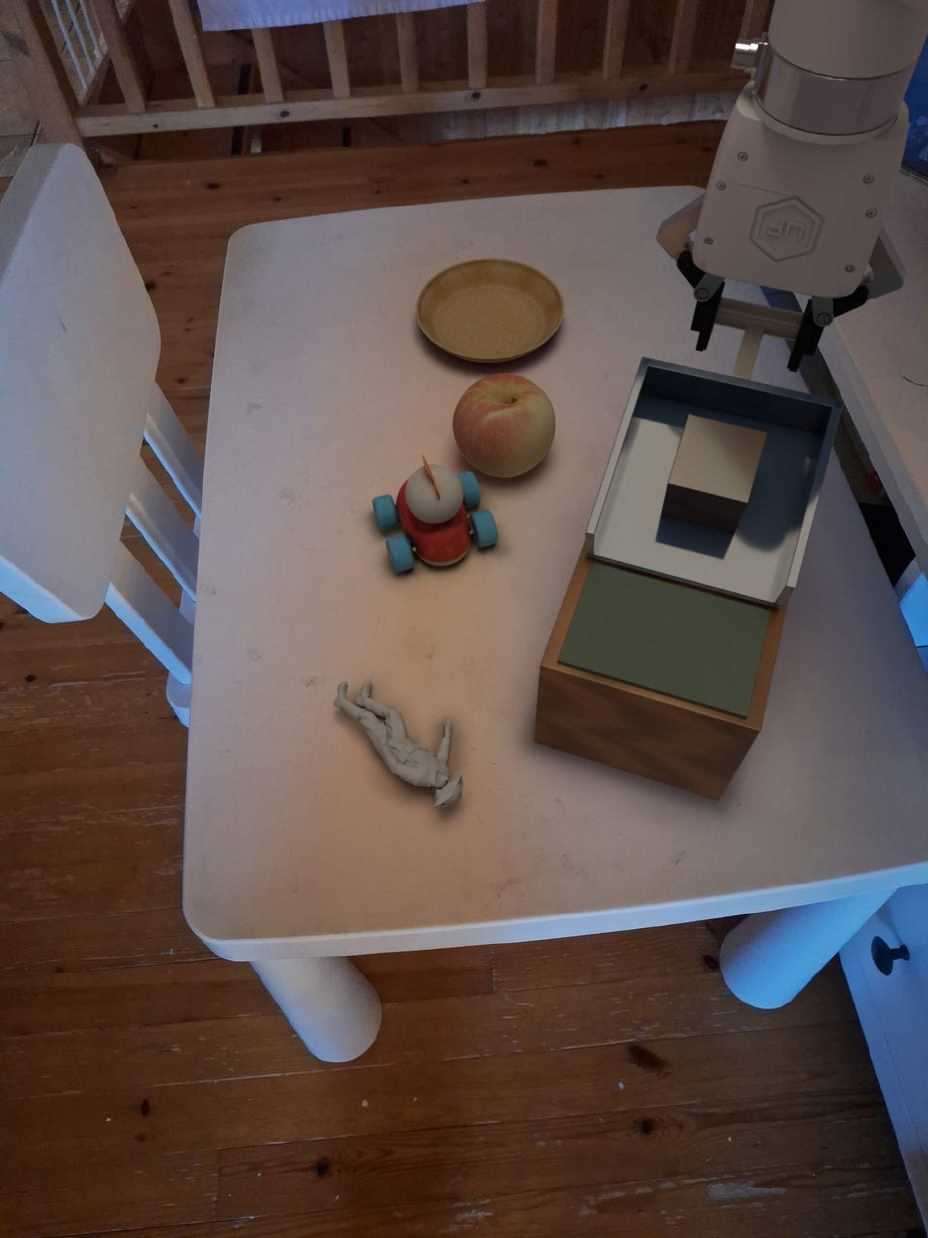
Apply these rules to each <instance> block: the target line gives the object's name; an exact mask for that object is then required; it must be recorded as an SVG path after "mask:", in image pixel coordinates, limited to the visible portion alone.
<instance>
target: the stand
mask: <svg viewBox="0 0 928 1238" xmlns="http://www.w3.org/2000/svg"><path fill="white" fill-rule="evenodd" d="M592 563H596V564H600V565H603V566H607V567H611V568H614V569H618V570H622V571H625V572H629V573H633V574H636V575H640V576H644V577H647V578H651V579H655V580H658V581H662V582H666V583H669V584H673V585H677V586H680V587H684V588H688V589H691V590H695V591H699V592H702V593H706V594H710V595H713V596H717V597H721V598H724V599H728V600H732V601H735V602H739V603H743V604H746V605H750V606H754V607H757V608H761V609H765V610H768V611H770V617H769V621H768V626H767V630H766V635H765V639H764V644H763V648H762V653H761V657H760V662H759V666H758V671H757V675H756V680H755V684H754V689H753V693H752V698H751V702H750V707H749V711H748V716H747V718H746V719H744V718H740V717H737V716H733V715H730V714H727V713H723V712H720V711H717V710H713V709H710V708H707V707H703V706H700V705H697V704H693V703H690V702H687V701H683V700H680V699H676V698H673V697H670V696H666V695H663V694H660V693H656V692H653V691H650V690H646V689H643V688H640V687H636V686H633V685H630V684H626V683H623V682H619V681H616V680H613V679H609V678H606V677H603V676H599V675H596V674H593V673H589V672H586V671H583V670H579V669H576V668H573V667H569V666H566V665H562V664H559V663H557V661H558V657H559V654H560V652H561V649H562V646H563V643H564V640H565V637H566V635H567V632H568V629H569V626H570V623H571V620H572V618H573V615H574V612H575V609H576V606H577V603H578V601H579V598H580V595H581V592H582V589H583V586H584V583H585V581H586V578H587V575H588V572H589V569H590V566H591V564H592ZM572 572H573V573H572V574H571V575H572V576H571V578H570V581H569V584H568V586H567V589H566V592H565V595H564V597H563V601H562V603H561V606H560V608H559V611H558V614H557V616H556V619H555V623H554V625H553V627H552V631H551V633H550V635H549V639H548V641H547V644H546V647H545V650H544V653H543V656H542V658H541V661H540V664H539V671H538V673H539V674H538V683H537V694H536V695H537V696H536V706H535V707H536V709H535V718H534V730H533V742H535V743H538V744H540V745H544V746H547V747H551V748H554V749H556V750H560V751H563V752H566V753H569V754H573V755H575V756H579V757H581V758H585V759H588V760H591V761H595V762H598V763H600V764H604V765H607V766H609V767H612V768H616V769H619V770H623V771H626V772H629V773H633V774H636V775H639V776H641V777H644V778H649V779H651V780H654V781H658V782H660V783H663V784H666V785H670V786H672V787H676V788H679V789H682V790H686V791H689V792H692V793H694V794H698V795H701V796H705V797H707V798H711V799H713V800H717V801H720V800H721V798H722V796H723V794H724V793H725V791H726V790H727V788H728V786H729V785H730V783H731V781H732V780H733V778H734V777H735V775H736V773H737V772H738V770H739V768H740V766H741V765H742V763H743V761H744V760H745V758H746V756H747V755H748V753H749V752H750V749H751V748H752V746H753V745H754V742H755V741H756V739H757V738H758V736H759V735H760V733H761V731H762V727H763V722H764V718H765V714H766V707H767V704H768V699H769V695H770V694H769V693H770V689H771V684H772V680H773V675H774V670H775V665H776V662H777V661H776V660H777V656H778V651H779V647H780V642H781V637H782V632H783V628H784V622H785V618H786V614H787V610H788V609H787V608H788V603H789V600H790V597H789V598H788V600H787V601H786V603H785V604H784V605H783V606H782V608H781V609H776V608H773V607H769V606H765V605H762V604H758V603H754V602H751V601H747V600H743V599H740V598H736V597H732V596H729V595H725V594H721V593H718V592H714V591H710V590H706V589H703V588H699V587H695V586H692V585H688V584H684V583H681V582H677V581H673V580H670V579H666V578H662V577H659V576H655V575H651V574H648V573H644V572H640V571H636V570H633V569H629V568H625V567H622V566H618V565H614V564H611V563H607V562H603V561H600V560H596V559H592V558H589V557H586V556H585V541H584V542H583V545H582V548H581V551H580V553H579V556H578V559H577V562H576V563H575V567H574V570H573V571H572Z"/></svg>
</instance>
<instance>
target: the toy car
mask: <svg viewBox="0 0 928 1238" xmlns="http://www.w3.org/2000/svg"><path fill="white" fill-rule="evenodd" d="M421 456H422V463H423V466H420V467H419V468H417V469H416V470H415V471H414V472H412V473H411V475H410V476H409V477H408V479H406V480H405V482H403V484H402V485H401V487H400V488H399V491H398V493H397V496H396V501H394V499H393V496H392V495H391V494H389V493H388V494H383V495H379V496H375V497H373V498H372V500H371V502H372V504H371V505H372V508H373V513H374V516H375V520H376V523H377V526H378V529H379V530H380V531H382V532H385V531H389V530H393V529H396V528H398V527H399V525H400V527H401V529H402V532H403V533H400V534H396V535H393V536H389V537H388V538H386V540H385V548H386V551H387V554H388V557H389V561H390V563H391V566H392V569H393V570H394V571H395V572H396V573H401V572H404V571H408V570H410V569H411V570H412V569H413V568H414V567H415V560H414V555H413V552H414V553H416V554H417V556H418V557H419V558H420V559H421V560H422V561H423V562H425V563H426V564H428V565H431V566H435V567H445V566H449V565H453V564H455V563H458V562H460V561H461V560H462V559H463V558H464V557H465V556H466V555H467V553H468V551H469V550H470V548H471V547H470V546H471V543H472V539H471V536H472V538H473V540H474V543H475V544H476V546H477V547H478V548H485V547H488V546H492V545H494V544H496V543H498V540H499V531H498V527H497V524H496V521H495V518H494V515H493V514H492V512H491V510H489V509H486V508H485V509H481V510H477V511H474V512H472V513H470V514H469V516H468V515H467V511H466V509H468V508H471V507H475V506H478V505H479V504H480V503H481V500H482V497H481V496H482V495H481V491H480V487H479V483H478V481H477V477H476V475H475V473H473V471H465V472H461V473H458V474H457V473H456V472H455V471H453V470H452V468H451V469H450V468H449V467H448V466H445V465H442V464H438V463H437V464H436V463H431V464H428V462H427V460H426V458H425V455H424V454H422V455H421Z"/></svg>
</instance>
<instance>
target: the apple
mask: <svg viewBox="0 0 928 1238" xmlns="http://www.w3.org/2000/svg"><path fill="white" fill-rule="evenodd" d="M453 411H454V412H453V416H452V433H453V437H454V441H455V443H456V446H457V448H458V449H459V451H460V453H461V455H462V456H463V458H464V459H465V460H466V461H467V463H468V464H469V465H470V466H472V467H473V468H474V469H475V470H477V471H479V472H481V473H482V474H484V475H488V476H490V477H491V476H492V477H496V478H503V479H504V478H514V477H517V476H520V475H522V474H524V473H526V472H529V471H530V470H532V469H533V468H535V467H536V466H537V465H539V463H540V462H542V461H543V460H544V459H545V457H546V456H547V454H548V453H549V451H550V449H551V447H552V445H553V443H554V439H555V434H556V425H557V424H556V413H555V409H554V406H553V404H552V401H551V399H550V397H549V396H548V394H547V393H546V392H545V390H543V389H542V388H541V386H539V385H537V383H535V382H534V381H532V380H531V379H528V378H526V377H524V376H523V375H519V374H516V373H510V372H509V373H505V372H504V373H503V372H501V373H495V374H491V375H487V376H484V377H482V378H480V379H478V380H477V381H475V382H474V383H473V384H471V385H470V386H469V387H468V388H467V389H466V390H465V391H464V393H463V394H462V395H461V397H460V398H459V400H458V402H457V404H456V406H455V409H454V410H453Z"/></svg>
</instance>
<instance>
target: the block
mask: <svg viewBox="0 0 928 1238" xmlns="http://www.w3.org/2000/svg"><path fill="white" fill-rule="evenodd" d="M767 434H768V433H767V432H763V431H759V430H755V429H751V428H746V427H742V426H738V425H733V424H729V423H725V422H720V421H716V420H712V419H708V418H703V417H699V416H695V415H690V414H689V415H688V417H687V421H686V424H685V427H684V431H683V434H682V437H681V440H680V444H679V447H678V450H677V454H676V457H675V460H674V463H673V467H672V470H671V473H670V477H669V480H668V483H667V488H666V493H665V497H664V502H663V506H662V511H661V515H664V516H668V517H671V518H675V519H679V520H683V521H687V522H691V523H695V524H699V525H703V526H706V527H710V528H714V529H718V530H722V531H726V532H730V533H734V534H735V532H736V530H737V528H738V525H739V523H740V521H741V518H742V516H743V514H744V511H745V509H746V507H747V505H748V502H749V498H750V495H751V491H752V488H753V484H754V480H755V477H756V473H757V470H758V466H759V462H760V459H761V455H762V452H763V448H764V444H765V441H766V437H767Z"/></svg>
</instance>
